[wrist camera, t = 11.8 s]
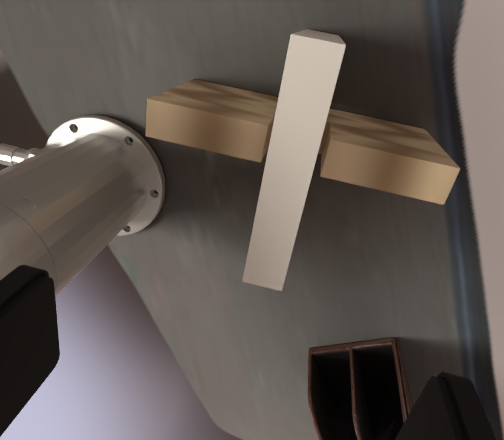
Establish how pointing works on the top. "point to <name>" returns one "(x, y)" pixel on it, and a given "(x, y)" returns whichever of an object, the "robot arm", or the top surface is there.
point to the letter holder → (358, 390)
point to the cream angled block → (292, 153)
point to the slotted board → (331, 147)
